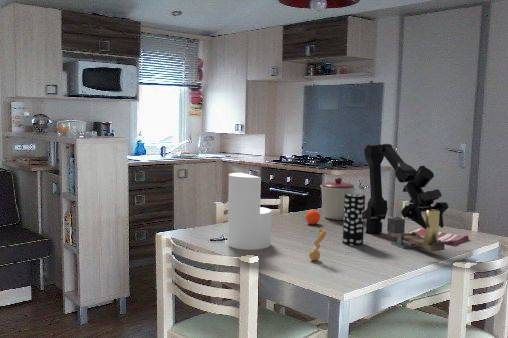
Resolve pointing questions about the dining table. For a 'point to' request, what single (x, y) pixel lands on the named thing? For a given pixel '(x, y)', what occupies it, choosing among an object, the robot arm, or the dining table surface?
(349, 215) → the spotted tube
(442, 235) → the dish towel
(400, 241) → the beam stand
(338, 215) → the canister
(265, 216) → the white stepped pillar
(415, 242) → the balance beam
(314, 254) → the figurine
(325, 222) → the dining table surface
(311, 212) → the clementine
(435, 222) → the brass weight
